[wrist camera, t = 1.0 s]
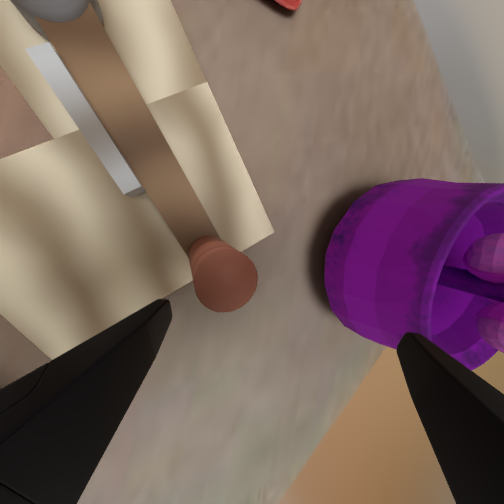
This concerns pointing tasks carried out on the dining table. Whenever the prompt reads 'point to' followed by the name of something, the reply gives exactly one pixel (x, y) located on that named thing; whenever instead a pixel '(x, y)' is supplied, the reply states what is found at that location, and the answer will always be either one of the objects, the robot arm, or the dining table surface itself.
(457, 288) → the decorative plant
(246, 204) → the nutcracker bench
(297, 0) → the butter dish
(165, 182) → the lever
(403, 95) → the dining table surface
